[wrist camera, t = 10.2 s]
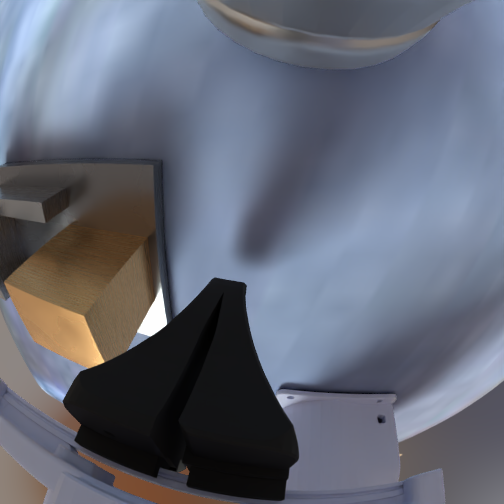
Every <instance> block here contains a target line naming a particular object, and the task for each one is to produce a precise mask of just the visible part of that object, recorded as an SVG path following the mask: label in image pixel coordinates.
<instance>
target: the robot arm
mask: <svg viewBox="0 0 504 504" xmlns="http://www.w3.org/2000/svg"><path fill="white" fill-rule="evenodd" d="M246 287H247V285H246V284H245V283H243V282H237V281H231V280H225V279H220V278H213V279H212V280H211V281H210V282H209V283H208V285H207V286H206V287H205V288H204V289H203V290H202V291H201V292H200V294H199V295H198V296H197V297H196V298H195V299H194V300H193V301H192V302H191V303H190V304H189V305H188V306H187V307H186V308H185V309H184V310H183V311H182V312H180V313H179V314H178V315H177V316H176V317H175V318H174V319H173V320H171V321H170V322H169V323H168V324H167V325H165V326H164V327H163V328H162V329H160V330H159V331H158V332H156V333H155V334H153V335H152V336H151V337H149V338H148V339H146V340H144V341H143V342H141V343H140V344H138V345H137V346H135V347H133V348H132V349H130V350H128V351H126V352H124V353H122V354H120V355H118V356H116V357H114V358H113V359H111V360H108V361H106V362H104V363H101V364H99V365H96V366H94V367H91V368H89V369H86V370H83V371H80V373H79V374H78V375H77V377H76V378H75V380H74V381H73V383H72V385H71V387H70V388H69V390H68V392H67V394H66V396H65V398H64V399H63V403H64V406H65V408H66V409H67V410H68V411H69V412H70V413H71V414H72V416H73V417H75V418H76V420H77V421H78V422H80V424H81V426H80V429H79V431H78V433H77V432H75V431H73V430H71V429H70V428H68V427H66V426H64V425H63V424H61V423H59V422H57V421H56V420H54V419H53V418H51V417H49V416H48V415H46V414H45V413H43V412H42V411H40V410H39V409H37V408H35V407H34V406H33V405H31V404H30V403H28V402H27V401H26V400H24V399H23V398H21V397H20V396H19V395H17V394H16V393H15V392H13V391H12V390H11V389H10V388H8V387H7V385H6V384H5V382H4V381H3V380H2V379H1V378H0V445H1V447H2V448H3V449H4V450H5V451H6V452H7V453H8V454H9V455H10V456H11V457H12V458H13V459H15V460H16V461H17V462H18V463H19V464H20V465H21V466H22V467H23V468H24V469H25V470H26V471H28V472H29V473H30V474H31V475H32V476H33V477H35V478H36V479H37V480H38V481H39V482H41V483H42V484H43V485H44V486H46V487H47V488H48V491H47V494H46V496H45V499H44V502H43V504H157V503H154V502H151V501H148V500H146V499H143V498H140V497H137V496H135V495H132V494H130V493H127V492H125V491H122V490H120V489H117V488H115V487H114V486H113V482H114V479H115V476H114V475H113V474H111V473H109V472H107V471H105V470H103V469H102V468H100V467H98V466H97V465H96V464H94V463H92V462H90V461H88V460H86V459H85V458H83V457H81V456H80V455H78V452H77V450H78V451H80V452H81V453H83V454H85V455H87V456H89V457H91V458H93V459H95V460H97V461H99V462H101V463H104V464H106V465H108V466H110V467H112V468H115V469H117V470H119V471H122V472H124V473H127V474H129V475H132V476H134V477H137V478H139V479H142V480H145V481H148V482H151V483H154V484H157V485H160V486H163V487H167V488H170V489H173V490H177V491H180V492H184V493H188V494H192V495H197V496H201V497H205V498H210V499H216V500H221V501H227V502H234V503H240V504H445V493H444V481H443V472H442V469H441V468H440V469H436V470H433V471H429V472H425V473H421V474H418V475H415V476H412V477H410V478H408V479H406V480H404V481H401V482H398V480H399V474H400V457H399V447H398V439H397V432H396V424H395V418H394V412H393V406H392V404H393V403H394V402H395V401H396V399H397V398H396V395H395V394H340V393H321V392H308V391H297V390H287V389H281V390H278V391H277V393H276V395H275V394H274V392H273V390H272V388H271V386H270V384H269V382H268V380H267V378H266V376H265V373H264V371H263V369H262V366H261V364H260V361H259V358H258V356H257V353H256V350H255V346H254V343H253V340H252V336H251V332H250V327H249V323H248V317H247V311H246V299H245V295H246ZM186 466H187V468H188V470H189V471H190V472H189V476H188V475H184V474H180V473H178V472H181V471H183V470H185V469H186Z"/></svg>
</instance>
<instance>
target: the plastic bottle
mask: <svg viewBox="0 0 504 504" xmlns="http://www.w3.org/2000/svg"><path fill="white" fill-rule="evenodd" d="M472 1H474V0H197V2H198V4H199V5H200V7H201V9H202V11H203V13H204V15H205V16H206V17H207V18H208V19H209V20H210V21H211V23H212V24H213V25H214V26H215V27H216V28H217V29H218V30H219V31H220V32H222V33H223V34H225V35H226V36H227V37H229V38H230V39H231V40H232V41H234V42H235V43H237V44H239V45H241V46H243V47H245V48H247V49H249V50H251V51H252V52H254V53H256V54H259V55H262V56H265V57H268V58H270V59H273V60H276V61H278V62H283V63H287V64H292V65H296V66H300V67H304V68H315V69H324V70H351V69H358V68H364V67H370V66H375V65H378V64H380V63H383V62H386V61H388V60H391V59H394V58H395V57H397V56H398V55H400V54H401V53H403V52H404V51H406V50H408V49H409V48H410V47H412V46H413V45H414V44H416V43H417V42H419V41H420V40H421V39H423V38H424V37H425V36H426V35H427V34H428V33H429V32H430V31H431V30H432V28H433V27H434V26H435V25H436V24H437V23H438V22H439V21H440V19H442V18H443V17H445V16H447V15H449V14H450V13H452V12H454V11H456V10H457V9H459V8H461V7H463V6H465V5H467V4H469V3H470V2H472Z"/></svg>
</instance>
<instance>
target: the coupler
mask: <svg viewBox="0 0 504 504" xmlns="http://www.w3.org/2000/svg"><path fill="white" fill-rule="evenodd" d="M69 224H70V225H76V226H82V227H88V228H94V229H100V230H106V231H112V232H118V233H124V234H130V235H136V236H143V237H148V243H149V253H150V262H151V270H152V278H153V285H154V292H155V299H156V300H155V301H154V303H153V305H152V306H151V308H150V310H149V312H148V313H147V315H146V317H145V319H144V320H143V322H142V324H141V326H140V328H139V329H138V331H137V332H138V333H141V334H145V335H149V336H152V335H153V334H155V333H156V332H158V331H159V330H160V329H162V328H163V327H164V326H165V325H167V324H168V323H169V322H170V321H171V320H172V314H171V306H170V297H169V288H168V278H167V268H166V256H165V242H164V225H163V201H162V161H161V160H139V159H60V160H40V161H26V162H15V163H5V164H3V165H1V166H0V298H2V299H4V300H5V301H6V300H7V299H8V298H9V297H10V295H9V293H8V290H7V288H6V286H5V284H4V281H5V280H6V279H7V278H8V277H9V276H10V275H11V274H12V273H13V272H14V271H16V270H17V269H18V268H19V267H20V266H21V265H22V264H23V263H24V262H25V261H26V260H27V259H28V258H30V257H31V256H32V255H33V254H34V253H35V252H36V251H38V250H39V249H40V248H41V247H42V246H43V245H45V244H46V243H47V242H48V241H49V240H51V239H52V238H53V237H54V236H55V235H57V234H58V233H59V232H60V231H62V230H63V229H64V228H65V227H67V226H68V225H69Z"/></svg>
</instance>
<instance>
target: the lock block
mask: <svg viewBox="0 0 504 504" xmlns="http://www.w3.org/2000/svg"><path fill="white" fill-rule="evenodd" d="M4 284H5V286H6V288H7V290H8V293H9V295H10V297H11V299H12V301H13V303H14V305H15V307H16V309H17V311H18V313H19V315H20V317H21V319H22V321H23V322H24V324H25V326H26V328H27V330H28V331H29V333H30V335H31V337H32V338H33V340H34V342H36V343H38V344H40V345H42V346H43V347H45V348H47V349H49V350H51V351H53V352H55V353H57V354H59V355H61V356H63V357H65V358H67V359H69V360H71V361H73V362H76V363H78V364H80V365H82V366H85V367H87V368H91V367H94V366H96V365H99V364H101V363H104V362H106V361H108V360H111V359H113V358H114V357H116V356H118V355H120V354H122V353H124V352H126V351H127V349H128V348H129V346H130V344H131V342H132V340H133V338H134V337H135V335H136V333H137V331H138V329H139V328H140V326H141V324H142V322H143V320H144V319H145V317H146V315H147V313H148V312H149V310H150V308H151V306H152V305H153V303H154V301H155V300H156V299H155V292H154V285H153V278H152V270H151V262H150V253H149V243H148V237H143V236H136V235H130V234H124V233H118V232H112V231H106V230H100V229H94V228H88V227H82V226H76V225H70V224H69V225H68V226H67V227H65V228H64V229H63V230H62V231H60V232H59V233H58V234H57V235H55V236H54V237H53V238H52V239H51V240H49V241H48V242H47V243H46V244H45V245H43V246H42V247H41V248H40V249H39V250H38V251H36V252H35V253H34V254H33V255H32V256H31V257H30V258H28V259H27V260H26V261H25V262H24V263H23V264H22V265H21V266H20V267H19V268H18V269H17V270H16V271H14V272H13V273H12V274H11V275H10V276H9V277H8V278H7V279H6V280H5V281H4Z"/></svg>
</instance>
